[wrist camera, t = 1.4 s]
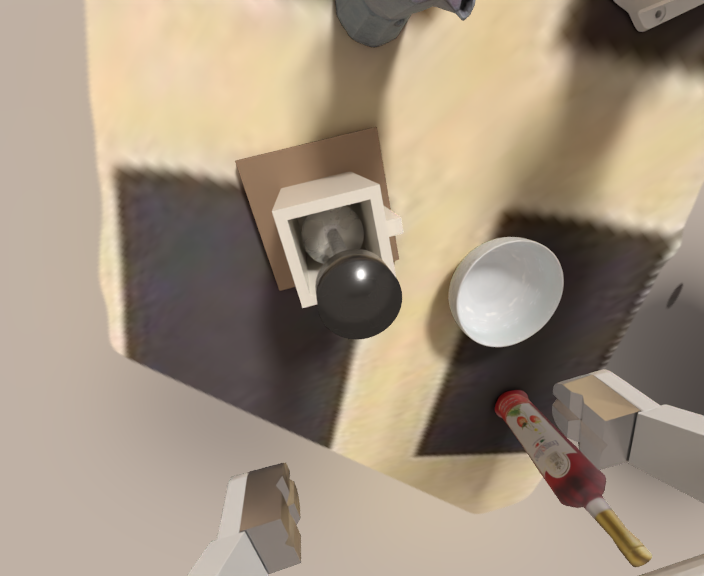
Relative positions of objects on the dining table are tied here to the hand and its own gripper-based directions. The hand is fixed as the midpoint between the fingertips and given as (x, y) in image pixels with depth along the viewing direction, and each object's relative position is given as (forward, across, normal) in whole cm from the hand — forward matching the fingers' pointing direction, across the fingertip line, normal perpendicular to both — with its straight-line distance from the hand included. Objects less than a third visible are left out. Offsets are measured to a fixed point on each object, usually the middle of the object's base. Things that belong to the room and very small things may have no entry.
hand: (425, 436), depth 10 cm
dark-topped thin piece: (+27, 0, 0) cm, 27 cm away
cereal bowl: (+40, -24, +17) cm, 49 cm away
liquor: (+40, -27, +44) cm, 65 cm away
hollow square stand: (+40, 0, 0) cm, 40 cm away
